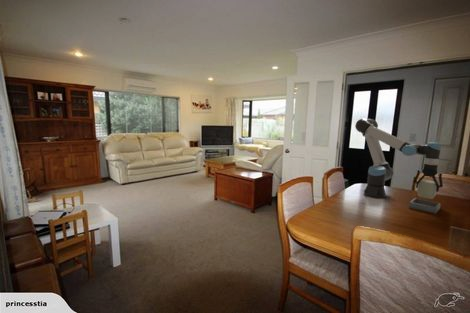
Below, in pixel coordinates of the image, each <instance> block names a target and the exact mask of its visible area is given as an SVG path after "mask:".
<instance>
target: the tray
mask: <svg viewBox="0 0 470 313" xmlns="http://www.w3.org/2000/svg"><path fill="white" fill-rule="evenodd" d="M408 208H409V209H413V210H417V211H422V212H427V213H429V214H430V213H431V214H435V215H436V214H438V212H439V210H440V209H441V202H437V201H432V200H426V199H422V198H417V197H414V198H413V199H411V200H410V201H409V206H408Z"/></svg>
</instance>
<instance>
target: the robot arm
mask: <svg viewBox="0 0 470 313" xmlns="http://www.w3.org/2000/svg"><path fill="white" fill-rule="evenodd" d="M355 129H356V131H357V132H359V133H361V134H362V137H364V138H365V140H366V143H367V147H368V149H369V153H370V156H371V158H372V162H373V165H371V166H369V167H368V171H367V181H366V182H367V183H366V186H365V189H364V190H363V196H367V197H369V198H372V199H386V198H387V193H386V190H385V183H386V181H389V180H391V179H392V178H393V176H394V169H393V168H392V167H390V166H391V165H390V164H389V162H387V161H386V159H385V155H384V151H383V148H382V146H381V143H380V142H382V143H383V144H385V145H388V146H390V147H392V148H393V149H395V150H397V151H399V152H401V153H402V154H403V155H404V156H406V157H411V156H414V155H419V156H420V155H421V156H425V157H424V162H423V163H424V164H423V169H417V170H416V171H417V173H416V175H415V178H414V180H413V183H414V184H416V185H415V188H416V189H417V190H416V194H418V192H419V185H420V181H421V180H424V178H425V177H429V178H431V179H432V181H434V182H435V183H436V184H435V185H436V187H435V190H434V197H436V195H437V193H438V192H439V190H440V188H443V187H444V185H443V177H442V176H443V173H442V172H438V165H439V161H440V155H441V151H442V150H441V146H442V145H441V144H442V143H440V142H427V144H419V143H418V144H417V143H410V142H407V141H405V140H403V139H401V138H399V137H397V136H395V135H392V134H391V133H389V132H387V131H384V130H382V129H380V128H379V124H378V122H377V121H376V119H373V118H360V119H358V120H357V121H356V122H355ZM421 173H422V174H423V175H422V176H421V177H420V175H421ZM436 175H437V176H438V180H437V178H436ZM419 177H420V178H419ZM438 181H439V182H438Z"/></svg>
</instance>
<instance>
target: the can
mask: <svg viewBox="0 0 470 313" xmlns="http://www.w3.org/2000/svg"><path fill="white" fill-rule="evenodd" d="M419 184H420V185H419V192H418V193H417V196H418V197H420V198H424V199H430V200H432V199H435V196H434V190H435V187H436V185H435V184H436V183H435V182H434V180H428V179H422V180H421V181H420V183H419Z"/></svg>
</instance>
